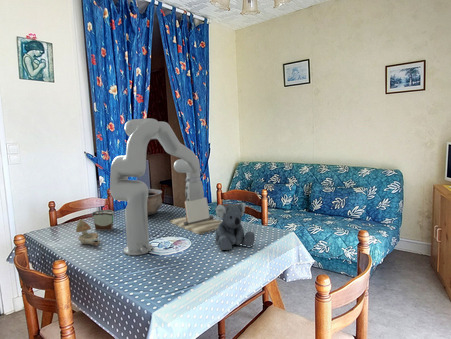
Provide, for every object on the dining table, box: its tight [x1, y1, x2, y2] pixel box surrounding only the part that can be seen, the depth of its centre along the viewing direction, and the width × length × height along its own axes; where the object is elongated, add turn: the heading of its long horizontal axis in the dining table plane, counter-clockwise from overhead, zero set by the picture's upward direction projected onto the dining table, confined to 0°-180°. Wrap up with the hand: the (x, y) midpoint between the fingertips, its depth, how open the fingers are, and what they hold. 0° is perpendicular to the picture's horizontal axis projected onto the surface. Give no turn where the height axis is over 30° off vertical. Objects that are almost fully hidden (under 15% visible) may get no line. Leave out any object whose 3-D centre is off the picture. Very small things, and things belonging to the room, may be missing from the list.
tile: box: [184, 196, 210, 224], centre depth 177 cm, size 13×14×2 cm
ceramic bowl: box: [126, 188, 163, 216], centre depth 201 cm, size 22×22×15 cm
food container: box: [91, 209, 115, 231], centre depth 174 cm, size 12×6×10 cm, turn 84°
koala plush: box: [214, 202, 256, 251], centre depth 144 cm, size 17×18×20 cm
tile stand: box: [169, 215, 223, 235], centre depth 177 cm, size 30×20×4 cm, turn 39°
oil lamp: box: [75, 218, 101, 246], centre depth 152 cm, size 9×21×10 cm, turn 42°
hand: (195, 210), depth 180 cm, fingers closed
